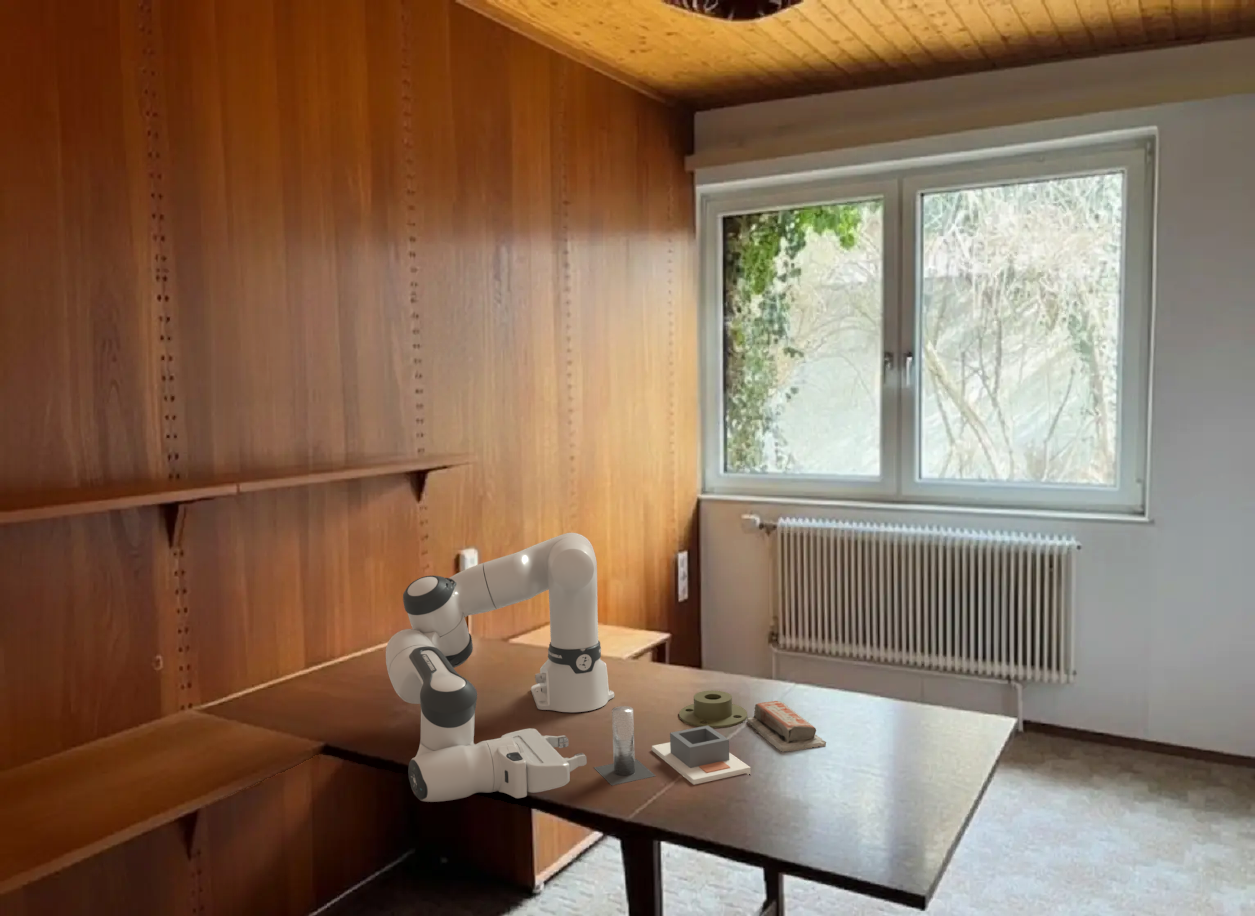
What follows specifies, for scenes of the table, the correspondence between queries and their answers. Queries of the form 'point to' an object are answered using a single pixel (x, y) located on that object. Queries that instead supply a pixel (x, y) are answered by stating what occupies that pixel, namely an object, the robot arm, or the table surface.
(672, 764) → the mounting plate
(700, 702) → the flange
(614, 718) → the barrel peg
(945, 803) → the table surface
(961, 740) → the table surface
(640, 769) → the pad
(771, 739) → the packaged product
